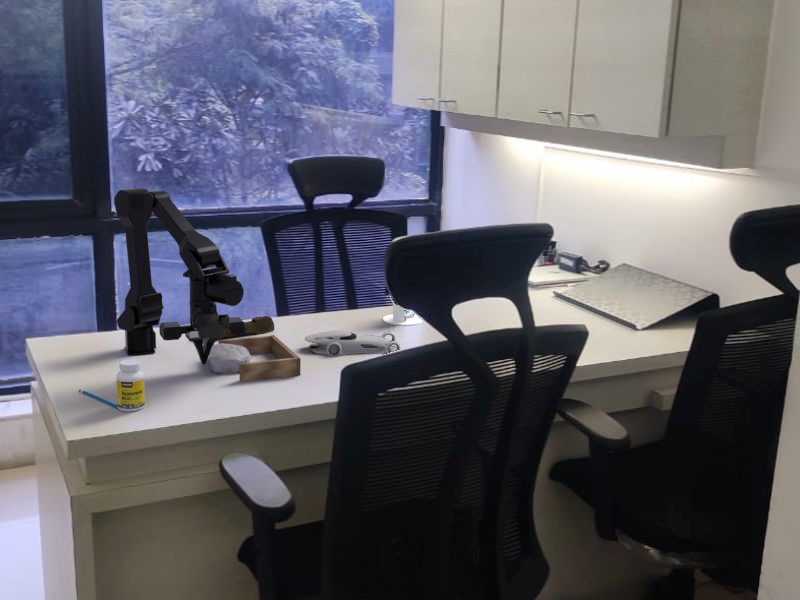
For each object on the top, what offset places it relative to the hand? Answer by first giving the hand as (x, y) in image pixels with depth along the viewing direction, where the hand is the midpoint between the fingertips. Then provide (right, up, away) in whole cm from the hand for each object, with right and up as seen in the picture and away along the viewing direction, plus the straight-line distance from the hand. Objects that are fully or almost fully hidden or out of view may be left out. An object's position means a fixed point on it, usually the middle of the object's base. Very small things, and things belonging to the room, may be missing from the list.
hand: (203, 364), depth 207 cm
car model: (+33, +2, +22) cm, 40 cm away
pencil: (-17, -7, -20) cm, 27 cm away
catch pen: (+12, -1, +6) cm, 13 cm away
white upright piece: (+46, +9, +50) cm, 68 cm away
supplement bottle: (-10, -7, -23) cm, 26 cm away
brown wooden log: (+3, +5, +30) cm, 31 cm away
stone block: (+5, -1, +5) cm, 7 cm away
